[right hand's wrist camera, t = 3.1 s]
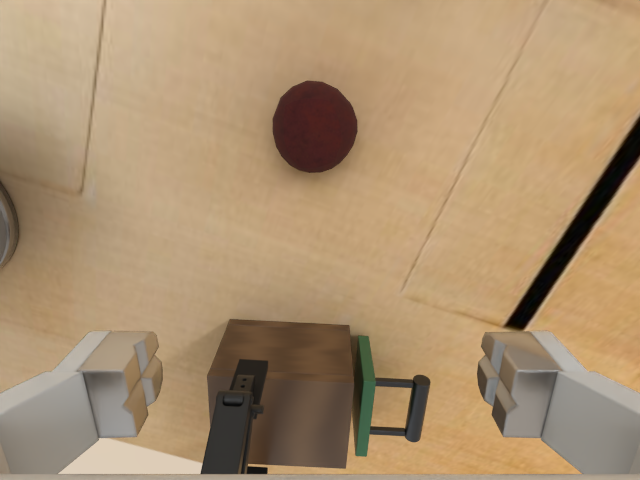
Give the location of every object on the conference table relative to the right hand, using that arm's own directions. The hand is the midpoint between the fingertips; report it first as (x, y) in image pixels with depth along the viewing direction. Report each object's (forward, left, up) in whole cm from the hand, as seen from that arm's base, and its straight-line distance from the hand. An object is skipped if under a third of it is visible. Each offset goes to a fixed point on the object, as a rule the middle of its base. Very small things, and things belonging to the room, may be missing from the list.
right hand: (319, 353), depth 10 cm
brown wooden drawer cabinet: (+7, +25, -32) cm, 41 cm away
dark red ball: (+1, -2, -32) cm, 33 cm away
